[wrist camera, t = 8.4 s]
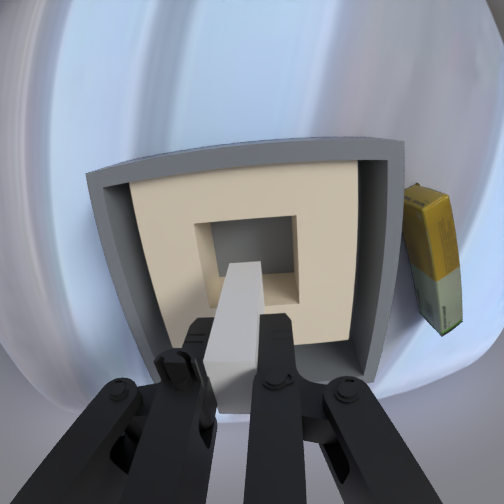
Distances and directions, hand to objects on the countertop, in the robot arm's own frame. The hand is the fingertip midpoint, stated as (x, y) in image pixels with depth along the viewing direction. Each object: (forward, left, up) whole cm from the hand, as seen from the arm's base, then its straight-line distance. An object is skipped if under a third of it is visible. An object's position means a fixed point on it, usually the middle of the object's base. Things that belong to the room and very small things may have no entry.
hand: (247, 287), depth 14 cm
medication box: (+2, +14, -8) cm, 16 cm away
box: (+2, 0, -7) cm, 7 cm away
